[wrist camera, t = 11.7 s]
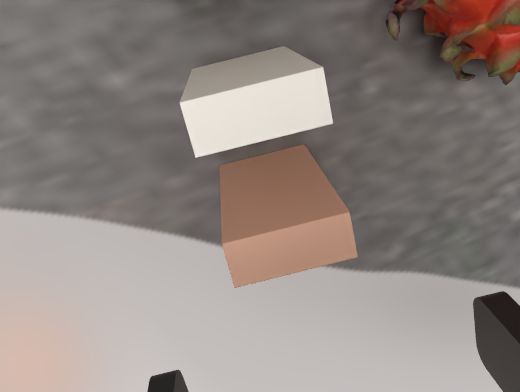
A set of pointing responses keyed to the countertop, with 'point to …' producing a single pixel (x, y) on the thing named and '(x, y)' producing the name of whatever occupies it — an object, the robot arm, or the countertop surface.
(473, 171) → the countertop surface
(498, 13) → the dragon fruit
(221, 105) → the ivory domino
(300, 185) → the terracotta domino
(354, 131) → the countertop surface
